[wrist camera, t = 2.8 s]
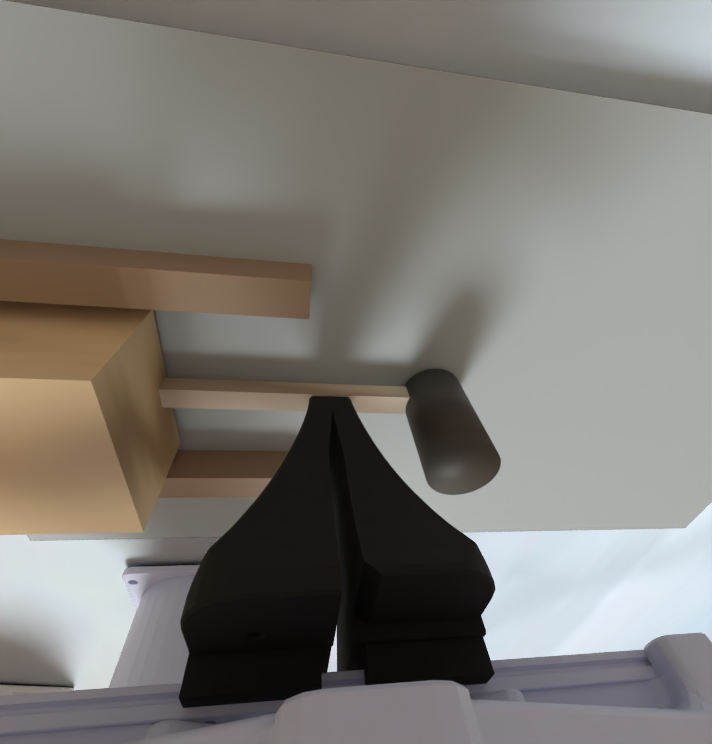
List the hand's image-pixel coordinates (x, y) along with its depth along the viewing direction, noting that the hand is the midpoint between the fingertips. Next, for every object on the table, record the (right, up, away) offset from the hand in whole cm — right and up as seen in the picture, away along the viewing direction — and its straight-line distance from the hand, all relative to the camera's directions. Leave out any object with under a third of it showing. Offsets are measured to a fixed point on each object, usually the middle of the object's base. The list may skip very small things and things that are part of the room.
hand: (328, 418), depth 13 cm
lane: (+4, +1, +3) cm, 6 cm away
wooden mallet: (-3, +1, +1) cm, 4 cm away
